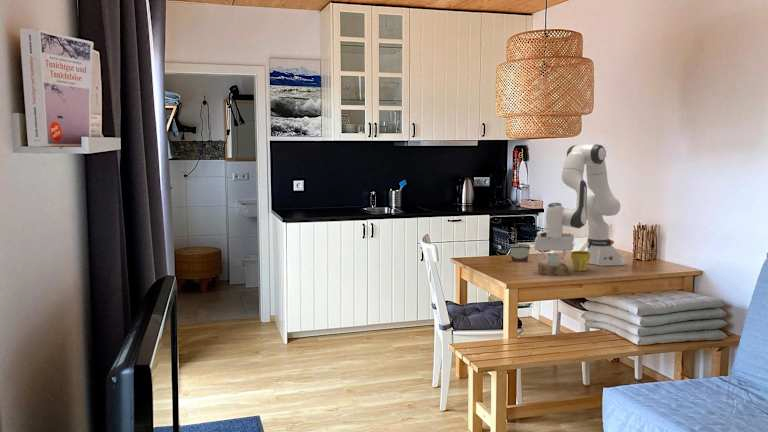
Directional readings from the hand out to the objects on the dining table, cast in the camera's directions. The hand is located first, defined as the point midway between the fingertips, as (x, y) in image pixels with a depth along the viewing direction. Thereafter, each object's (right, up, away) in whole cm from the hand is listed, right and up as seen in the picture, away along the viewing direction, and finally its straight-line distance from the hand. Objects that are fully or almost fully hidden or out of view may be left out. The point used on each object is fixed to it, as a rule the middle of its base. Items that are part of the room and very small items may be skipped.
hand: (553, 258), depth 349 cm
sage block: (0, -4, 0) cm, 4 cm away
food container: (-12, -4, +33) cm, 35 cm away
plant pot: (+17, -7, +8) cm, 20 cm away
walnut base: (0, -8, +1) cm, 8 cm away
